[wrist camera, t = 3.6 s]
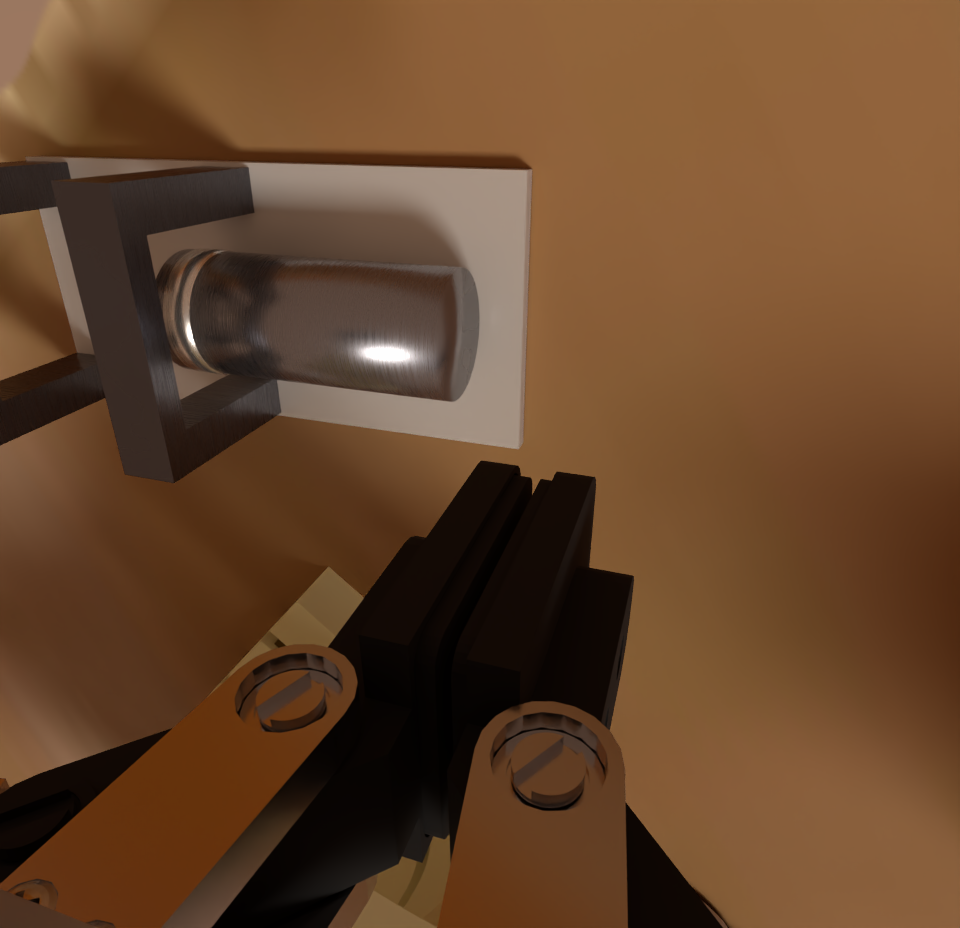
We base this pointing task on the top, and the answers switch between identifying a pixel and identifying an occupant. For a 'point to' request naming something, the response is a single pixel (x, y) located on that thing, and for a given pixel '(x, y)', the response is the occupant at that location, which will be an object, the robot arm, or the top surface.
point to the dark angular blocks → (60, 383)
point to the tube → (322, 321)
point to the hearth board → (368, 237)
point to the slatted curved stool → (421, 886)
